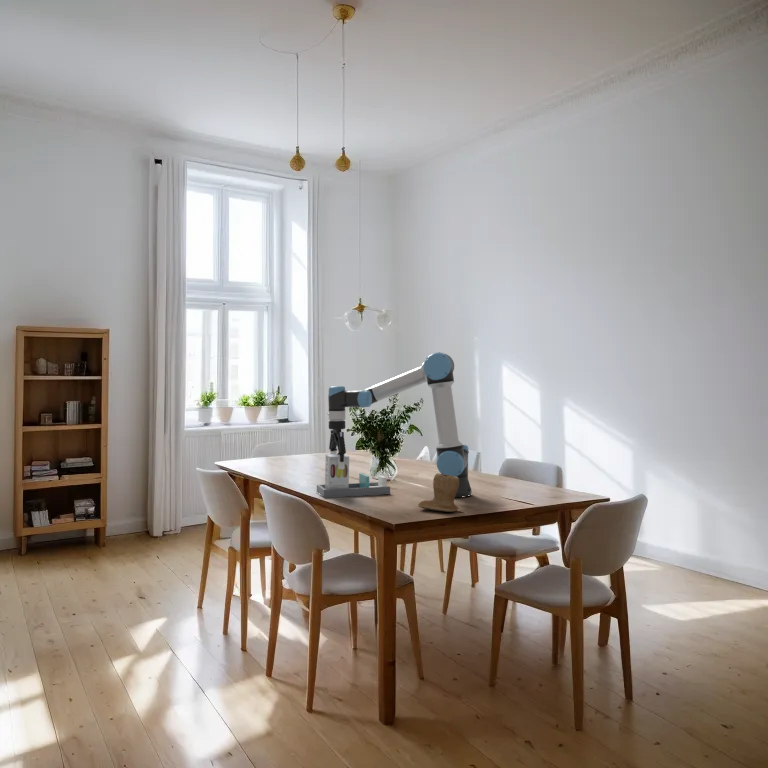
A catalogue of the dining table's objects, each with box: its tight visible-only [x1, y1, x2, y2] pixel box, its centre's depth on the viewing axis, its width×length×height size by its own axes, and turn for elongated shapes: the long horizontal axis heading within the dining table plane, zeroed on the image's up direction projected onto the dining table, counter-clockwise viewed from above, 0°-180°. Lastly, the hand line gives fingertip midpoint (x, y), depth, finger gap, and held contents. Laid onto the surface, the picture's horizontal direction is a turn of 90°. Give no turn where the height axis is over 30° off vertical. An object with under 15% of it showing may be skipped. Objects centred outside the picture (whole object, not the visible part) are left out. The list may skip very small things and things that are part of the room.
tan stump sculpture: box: [417, 472, 460, 513], centre depth 275 cm, size 15×12×15 cm
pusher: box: [358, 472, 388, 488], centre depth 314 cm, size 11×11×7 cm
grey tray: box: [316, 481, 391, 498], centre depth 311 cm, size 14×31×4 cm, turn 109°
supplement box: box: [324, 453, 350, 489], centre depth 308 cm, size 10×9×17 cm
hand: (337, 467), depth 308 cm, fingers open, 13 cm apart
